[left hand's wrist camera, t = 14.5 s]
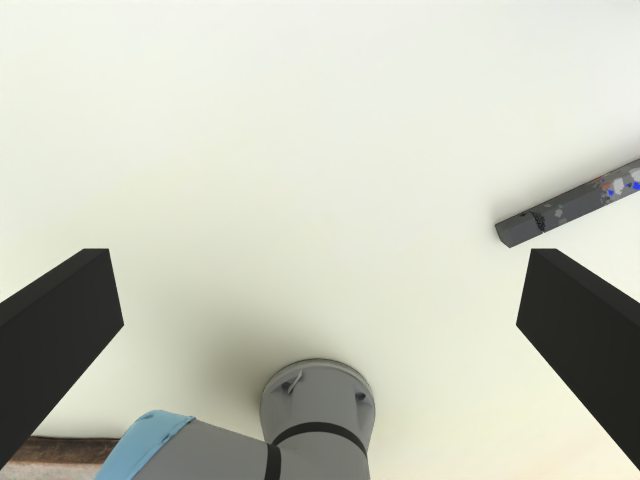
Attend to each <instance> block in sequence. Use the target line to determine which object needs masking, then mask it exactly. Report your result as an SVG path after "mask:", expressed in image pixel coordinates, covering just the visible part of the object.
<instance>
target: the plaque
mask: <svg viewBox="0 0 640 480" xmlns="http://www.w3.org/2000/svg"><path fill="white" fill-rule="evenodd" d="M119 441H120V440H108V439H90V440H60V439H45V438H39V437H29V438H28V439H27V440H26V441H25V442H24V444H23V445H22V446H21V447H20V448H19V449H18V451H17V452H16V453H15V454H14V455H13V457H12V458H11V459H10V460H9V461H8V462H7V464H6V465H5V466H4V467H3V468H2V469H1V471H0V480H93V479H94V478H95V476H96V474H97V473H98V471H99V470H100V468H101V467H102V465H103V464H104V462H105V461H106V459H107V458H108V456H109V455H110V453H111V452H112V450H113V449H114V448H115V446H116V445H117V443H118V442H119Z"/></svg>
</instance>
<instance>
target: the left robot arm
mask: <svg viewBox="0 0 640 480" xmlns="http://www.w3.org/2000/svg"><path fill="white" fill-rule="evenodd" d="M123 326H124V322H123V317H122V312H121V307H120V302H119V297H118V292H117V288H116V283H115V278H114V273H113V268H112V263H111V258H110V253H109V249H83V250H81V251H79V252H78V253H76V254H75V255H73V256H72V257H70V258H69V259H67V260H66V261H64V262H63V263H61V264H60V265H58V266H57V267H55V268H53V269H52V270H50V271H49V272H47V273H46V274H44V275H43V276H41V277H40V278H38V279H37V280H35V281H34V282H32V283H30V284H29V285H27V286H26V287H24V288H23V289H21V290H20V291H18V292H17V293H15V294H14V295H12V296H11V297H9V298H7V299H6V300H4V301H3V302H1V303H0V471H1V469H2V468H3V467H4V466H5V465H6V464H7V462H8V461H9V460H10V459H11V458H12V457H13V455H14V454H15V453H16V452H17V451H18V449H19V448H20V447H21V446H22V445H23V444H24V442H25V441H26V440H27V439H28V438H29V436H30V435H31V434H32V433H33V432H34V431H35V429H36V428H37V427H38V426H39V425H40V424H41V422H42V421H43V420H44V419H45V418H46V416H47V415H48V414H49V413H50V412H51V411H52V409H53V408H54V407H55V406H56V405H57V404H58V402H59V401H60V400H61V399H62V398H63V396H64V395H65V394H66V393H67V392H68V391H69V389H70V388H71V387H72V386H73V385H74V384H75V382H76V381H77V380H78V379H79V378H80V376H81V375H82V374H83V373H84V372H85V371H86V369H87V368H88V367H89V366H90V365H91V364H92V362H93V361H94V360H95V359H96V358H97V356H98V355H99V354H100V353H101V352H102V351H103V349H104V348H105V347H106V346H107V345H108V343H109V342H110V341H111V340H112V339H113V338H114V336H115V335H116V334H117V333H118V332H119V331H120V329H121V328H122V327H123ZM516 326H517V327H518V328H519V329H520V331H521V332H522V333H523V334H524V335H525V336H526V338H527V339H528V340H529V341H530V342H531V343H532V345H533V346H534V347H535V348H536V349H537V351H538V352H539V353H540V354H541V355H542V356H543V358H544V359H545V360H546V361H547V362H548V364H549V365H550V366H551V367H552V368H553V369H554V371H555V372H556V373H557V374H558V375H559V376H560V378H561V379H562V380H563V381H564V382H565V384H566V385H567V386H568V387H569V388H570V389H571V391H572V392H573V393H574V394H575V395H576V396H577V398H578V399H579V400H580V401H581V402H582V404H583V405H584V406H585V407H586V408H587V409H588V411H589V412H590V413H591V414H592V415H593V416H594V418H595V419H596V420H597V421H598V422H599V424H600V425H601V426H602V427H603V428H604V429H605V431H606V432H607V433H608V434H609V435H610V436H611V438H612V439H613V440H614V441H615V442H616V444H617V445H618V446H619V447H620V448H621V449H622V451H623V452H624V453H625V454H626V455H627V457H628V458H629V459H630V460H631V461H632V462H633V464H634V465H635V466H636V467H637V468H638V469H639V471H640V303H639V302H637V301H636V300H634V299H633V298H631V297H629V296H628V295H626V294H625V293H623V292H622V291H620V290H619V289H617V288H616V287H614V286H613V285H611V284H610V283H608V282H606V281H605V280H603V279H602V278H600V277H599V276H597V275H596V274H594V273H593V272H591V271H590V270H588V269H587V268H585V267H583V266H582V265H580V264H579V263H577V262H576V261H574V260H573V259H571V258H570V257H568V256H567V255H565V254H564V253H562V252H561V251H559V250H557V249H531V253H530V258H529V263H528V268H527V273H526V278H525V283H524V288H523V292H522V297H521V302H520V307H519V312H518V317H517V322H516ZM260 421H261V426H262V430H263V435H264V439H265V442H263V441H260V440H257V439H254V438H251V437H247V436H244V435H241V434H238V433H235V432H232V431H229V430H226V429H223V428H220V427H217V426H213V425H211V424H208V423H205V422H202V421H199V420H196V418H195V417H193V416H189V417H186V416H182V415H178V414H174V413H170V412H166V411H163V410H154V411H150V412H148V413H146V414H144V415H143V416H141V417H140V418H139V419H138V420H137V421H135V423H134V424H133V425H132V426H131V427H130V428H129V429H128V430H127V432H126V433H125V434H124V435H123V437H122V438H121V439H120V441H119V442H118V443H117V445H116V446H115V448H114V449H113V450H112V452H111V453H110V455H109V456H108V458H107V459H106V461H105V462H104V464H103V465H102V467H101V468H100V470H99V471H98V473H97V474H96V476H95V478H94V479H93V480H370V474H369V466H368V459H367V450H368V446H369V442H370V438H371V434H372V430H373V426H374V421H375V405H374V399H373V394H372V391H371V389H370V387H369V385H368V383H367V382H366V381H365V379H364V378H363V377H362V376H361V375H360V374H359V373H358V372H356V371H355V370H353V369H352V368H350V367H348V366H346V365H344V364H341V363H339V362H335V361H331V360H323V359H311V360H304V361H300V362H296V363H293V364H291V365H289V366H287V367H285V368H283V369H282V370H280V371H279V372H277V373H276V374H275V375H274V376H273V377H272V378H271V379H270V381H269V382H268V383H267V385H266V387H265V389H264V392H263V395H262V400H261V405H260Z"/></svg>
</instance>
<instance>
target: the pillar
mask: <svg viewBox="0 0 640 480" xmlns="http://www.w3.org/2000/svg"><path fill="white" fill-rule="evenodd" d="M639 190H640V159H638V160H636V161H634V162H632V163H630V164H627V165H625V166H623V167H621V168H619V169H617V170H614V171H612V172H610V173H608V174H606V175H603V176H601V177H599V178H597V179H595V180H592V181H590V182H588V183H586V184H584V185H582V186H579V187H577V188H575V189H573V190H571V191H568V192H566V193H564V194H562V195H560V196H558V197H555V198H553V199H551V200H549V201H547V202H544V203H542V204H540V205H538V206H536V207H533V208H531V209H529V210H527V211H525V212H523V213H520V214H518V215H516V216H514V217H512V218H509V219H507V220H505V221H503V222H501V223H499V224H496V225H495V227H496V229H497V232H498V235H499V237H500V240H501V242H503V243H504V244H505V245H506V246H508V247H509V248H511V247H513V246H516V245H518V244H520V243H522V242H525V241H527V240H529V239H531V238H534V237H536V236H538V235H540V234H543V232H544V233H545V232H547V231H549V230H552V229H554V228H556V227H558V226H561V225H563V224H565V223H567V222H570V221H572V220H574V219H576V218H579V217H581V216H583V215H585V214H588V213H590V212H592V211H594V210H597V209H599V208H601V207H603V206H606V205H608V204H610V203H612V202H615V201H617V200H619V199H621V198H624V197H626V196H628V195H630V194H633V193H635V192H637V191H639ZM536 221H537V223H536ZM542 231H543V232H542Z"/></svg>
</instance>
